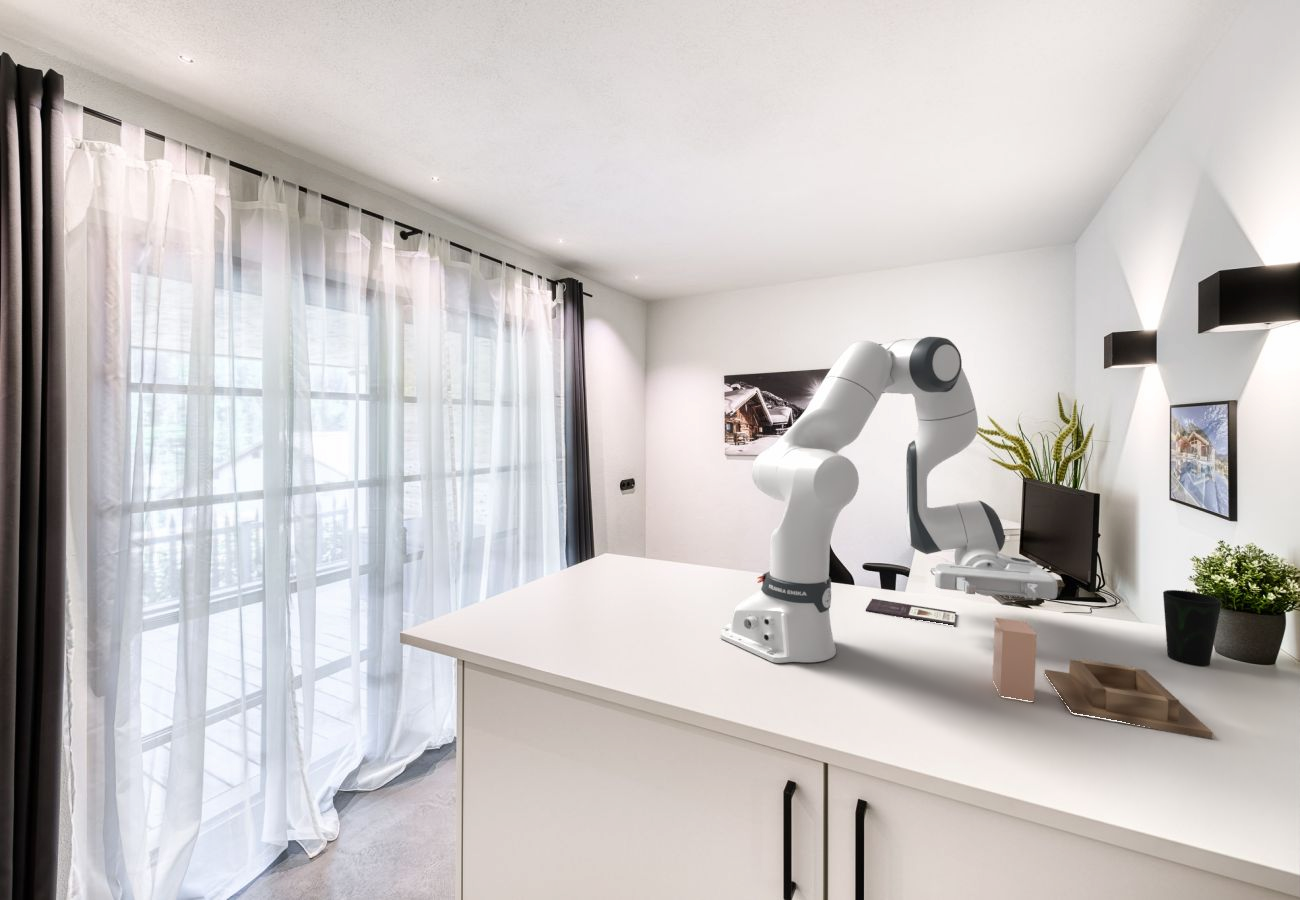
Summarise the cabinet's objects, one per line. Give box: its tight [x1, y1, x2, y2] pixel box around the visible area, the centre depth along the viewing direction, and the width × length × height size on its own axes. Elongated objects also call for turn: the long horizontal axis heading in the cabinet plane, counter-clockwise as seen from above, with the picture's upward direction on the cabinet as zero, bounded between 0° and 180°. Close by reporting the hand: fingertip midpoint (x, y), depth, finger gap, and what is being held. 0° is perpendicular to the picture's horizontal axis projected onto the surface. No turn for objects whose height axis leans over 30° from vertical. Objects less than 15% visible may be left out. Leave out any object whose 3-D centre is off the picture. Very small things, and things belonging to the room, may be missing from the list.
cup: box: [1162, 589, 1223, 667], centre depth 100 cm, size 8×8×12 cm
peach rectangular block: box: [992, 617, 1038, 702], centre depth 88 cm, size 4×6×11 cm
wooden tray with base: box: [1044, 659, 1214, 740], centre depth 85 cm, size 16×14×4 cm
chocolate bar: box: [865, 598, 957, 626], centre depth 125 cm, size 9×1×18 cm
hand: (1000, 592), depth 99 cm, fingers open, 8 cm apart
